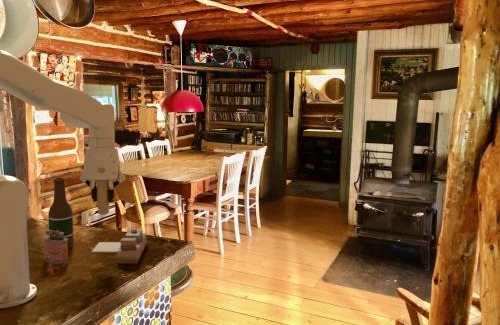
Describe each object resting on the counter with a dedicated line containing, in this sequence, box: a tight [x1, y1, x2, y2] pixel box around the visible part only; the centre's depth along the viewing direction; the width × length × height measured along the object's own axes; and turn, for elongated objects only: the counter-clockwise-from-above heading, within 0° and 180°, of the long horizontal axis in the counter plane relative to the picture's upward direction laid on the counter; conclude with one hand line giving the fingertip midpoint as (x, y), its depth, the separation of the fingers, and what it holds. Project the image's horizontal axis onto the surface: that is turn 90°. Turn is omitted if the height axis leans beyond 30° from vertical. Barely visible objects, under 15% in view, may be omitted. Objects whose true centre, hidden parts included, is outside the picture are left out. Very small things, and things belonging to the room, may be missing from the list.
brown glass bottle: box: [47, 177, 74, 250], centre depth 142 cm, size 8×8×24 cm
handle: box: [96, 168, 110, 215], centre depth 132 cm, size 5×6×15 cm
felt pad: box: [91, 241, 121, 254], centre depth 144 cm, size 9×9×1 cm
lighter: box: [43, 229, 70, 265], centre depth 130 cm, size 8×3×10 cm, turn 74°
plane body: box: [116, 228, 147, 264], centre depth 139 cm, size 18×6×7 cm, turn 5°
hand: (103, 200), depth 132 cm, fingers closed on handle, 4 cm apart
